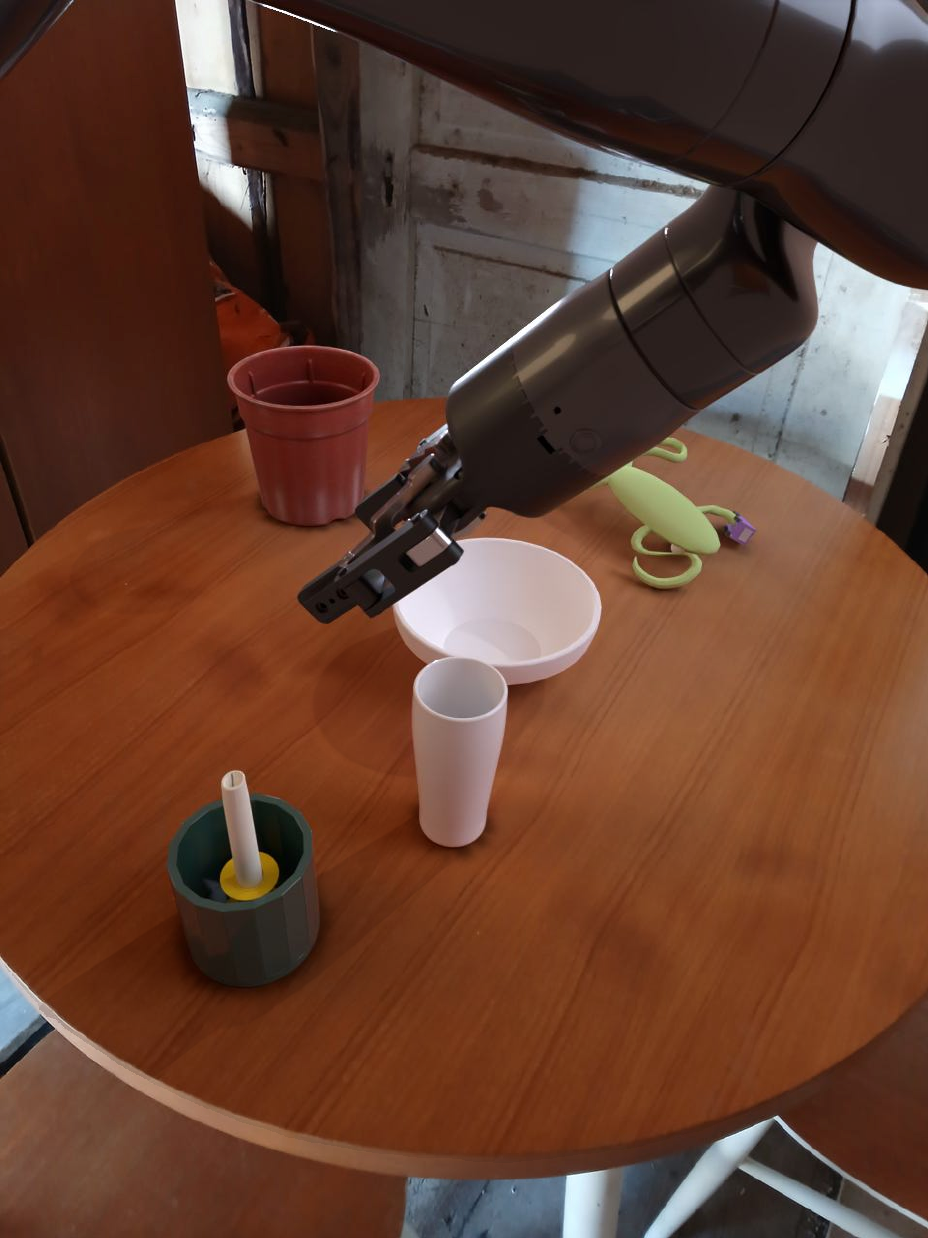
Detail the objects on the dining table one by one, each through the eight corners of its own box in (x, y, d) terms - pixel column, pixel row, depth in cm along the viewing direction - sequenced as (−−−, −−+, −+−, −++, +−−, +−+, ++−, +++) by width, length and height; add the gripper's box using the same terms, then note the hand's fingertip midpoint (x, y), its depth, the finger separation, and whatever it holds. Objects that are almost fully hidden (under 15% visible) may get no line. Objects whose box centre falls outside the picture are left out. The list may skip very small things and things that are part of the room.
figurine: (651, 456, 122) (659, 418, 118) (785, 563, 103) (799, 521, 100) (532, 481, 115) (536, 442, 112) (652, 600, 97) (662, 557, 93)
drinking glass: (507, 808, 74) (523, 673, 64) (473, 871, 69) (485, 734, 59) (433, 779, 76) (438, 644, 66) (394, 838, 71) (394, 701, 61)
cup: (213, 1012, 59) (194, 935, 54) (170, 905, 65) (149, 826, 60) (341, 949, 63) (335, 871, 58) (289, 853, 69) (280, 775, 64)
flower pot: (222, 486, 111) (204, 360, 101) (342, 455, 118) (336, 335, 108) (278, 553, 100) (265, 420, 90) (406, 514, 108) (407, 387, 98)
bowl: (453, 572, 99) (455, 517, 94) (620, 632, 92) (631, 575, 88) (352, 675, 85) (350, 616, 81) (540, 754, 79) (549, 695, 74)
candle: (234, 967, 61) (203, 820, 51) (209, 908, 64) (175, 759, 55) (306, 933, 63) (289, 786, 53) (278, 878, 67) (258, 730, 57)
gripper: (549, 280, 44) (338, 451, 53) (483, 400, 34) (232, 589, 43) (638, 396, 47) (422, 541, 56) (604, 543, 36) (342, 693, 45)
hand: (340, 562), depth 49 cm, fingers open, 8 cm apart
